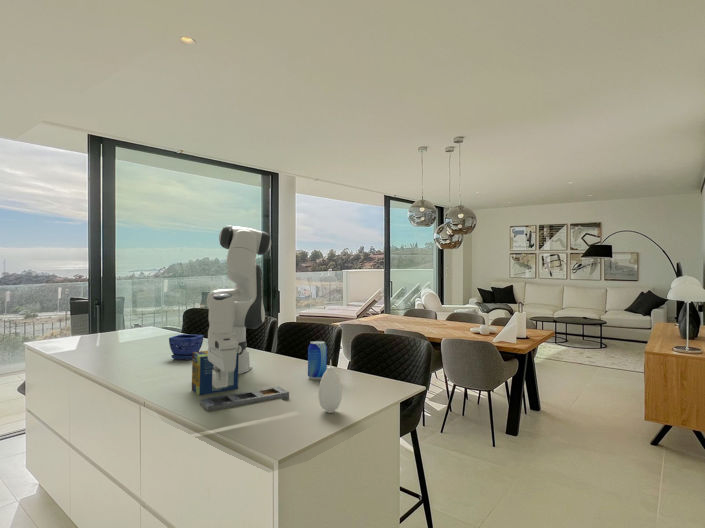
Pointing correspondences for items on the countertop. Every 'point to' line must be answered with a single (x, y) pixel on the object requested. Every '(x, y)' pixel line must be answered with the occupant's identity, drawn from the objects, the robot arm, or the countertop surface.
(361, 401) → the countertop surface
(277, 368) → the countertop surface
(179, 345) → the flower pot
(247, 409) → the countertop surface
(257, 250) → the robot arm
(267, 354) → the countertop surface
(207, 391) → the protein box
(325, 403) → the white teardrop vase
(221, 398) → the grey compartment tray
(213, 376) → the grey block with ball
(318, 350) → the beer can
